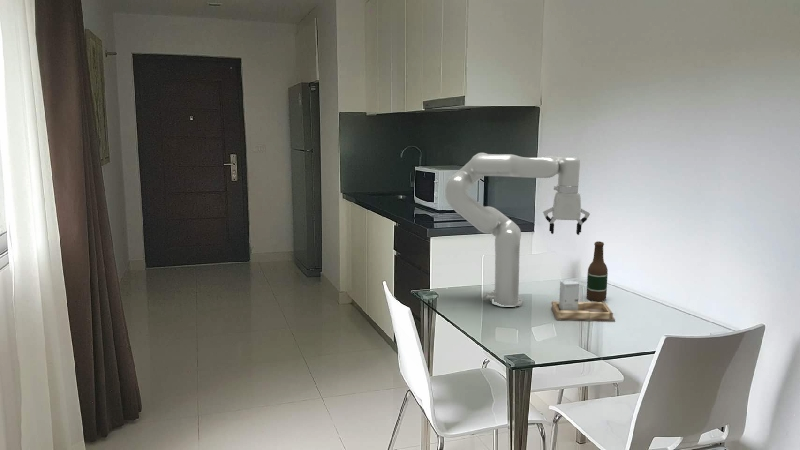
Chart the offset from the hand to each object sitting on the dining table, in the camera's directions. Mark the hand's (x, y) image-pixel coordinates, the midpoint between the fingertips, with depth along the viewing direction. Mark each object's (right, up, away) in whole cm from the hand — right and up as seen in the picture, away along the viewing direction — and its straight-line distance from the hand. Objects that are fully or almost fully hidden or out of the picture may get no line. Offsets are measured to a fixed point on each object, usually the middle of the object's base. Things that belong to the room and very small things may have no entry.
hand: (564, 233), depth 228 cm
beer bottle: (+17, -27, +15) cm, 35 cm away
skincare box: (+1, -30, -3) cm, 30 cm away
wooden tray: (+6, -31, -3) cm, 32 cm away
